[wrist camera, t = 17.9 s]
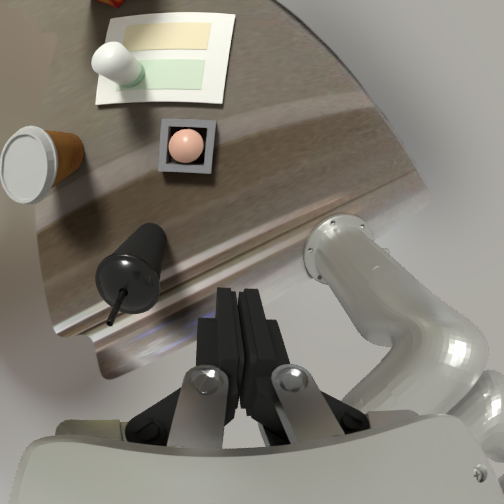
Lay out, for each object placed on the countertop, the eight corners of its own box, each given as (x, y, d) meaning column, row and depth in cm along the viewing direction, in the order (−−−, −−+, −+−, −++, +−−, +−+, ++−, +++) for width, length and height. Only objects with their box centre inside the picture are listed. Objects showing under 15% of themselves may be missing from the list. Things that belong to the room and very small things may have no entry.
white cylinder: (144, 59, 28) (126, 37, 19) (144, 85, 29) (124, 69, 21) (117, 64, 27) (92, 46, 19) (116, 90, 29) (90, 78, 21)
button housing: (216, 121, 34) (216, 120, 32) (211, 170, 37) (210, 173, 35) (165, 119, 33) (161, 118, 31) (161, 168, 36) (158, 171, 33)
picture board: (234, 16, 27) (235, 14, 26) (222, 104, 33) (222, 103, 32) (112, 20, 24) (110, 18, 23) (97, 105, 30) (95, 104, 29)
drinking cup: (182, 225, 40) (158, 308, 22) (165, 267, 42) (140, 362, 24) (135, 206, 37) (77, 274, 19) (122, 250, 40) (71, 335, 22)
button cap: (205, 129, 34) (204, 130, 32) (202, 161, 36) (201, 163, 33) (173, 128, 33) (170, 128, 31) (170, 160, 35) (167, 162, 33)
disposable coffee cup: (66, 110, 29) (19, 111, 18) (105, 148, 33) (64, 159, 22) (35, 159, 31) (-12, 175, 20) (71, 196, 35) (28, 223, 24)
